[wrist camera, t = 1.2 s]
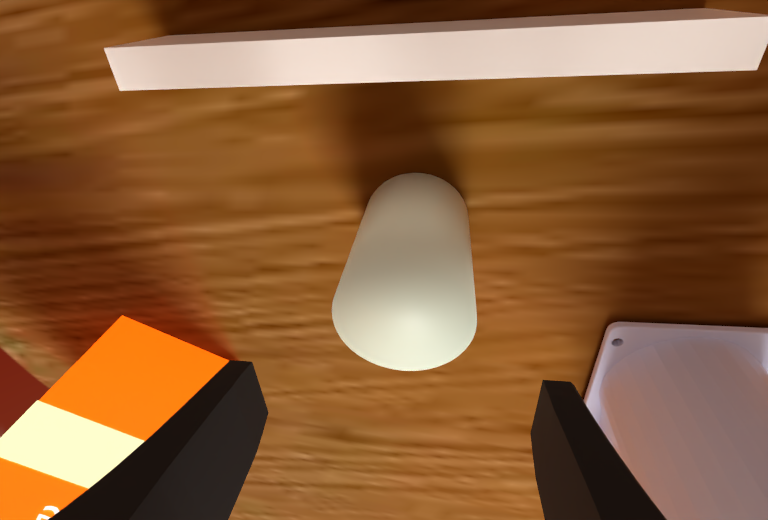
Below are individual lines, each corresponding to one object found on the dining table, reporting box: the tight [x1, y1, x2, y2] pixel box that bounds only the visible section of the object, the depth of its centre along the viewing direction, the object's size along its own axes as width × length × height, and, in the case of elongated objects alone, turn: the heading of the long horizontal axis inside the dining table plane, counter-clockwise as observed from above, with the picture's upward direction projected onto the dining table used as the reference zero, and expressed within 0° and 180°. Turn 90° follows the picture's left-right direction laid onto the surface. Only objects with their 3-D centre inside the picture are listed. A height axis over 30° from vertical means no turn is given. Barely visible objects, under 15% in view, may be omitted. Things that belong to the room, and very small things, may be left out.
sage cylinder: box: [332, 173, 477, 371], centre depth 16 cm, size 4×4×6 cm
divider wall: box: [104, 8, 768, 91], centre depth 13 cm, size 1×18×4 cm, turn 93°
